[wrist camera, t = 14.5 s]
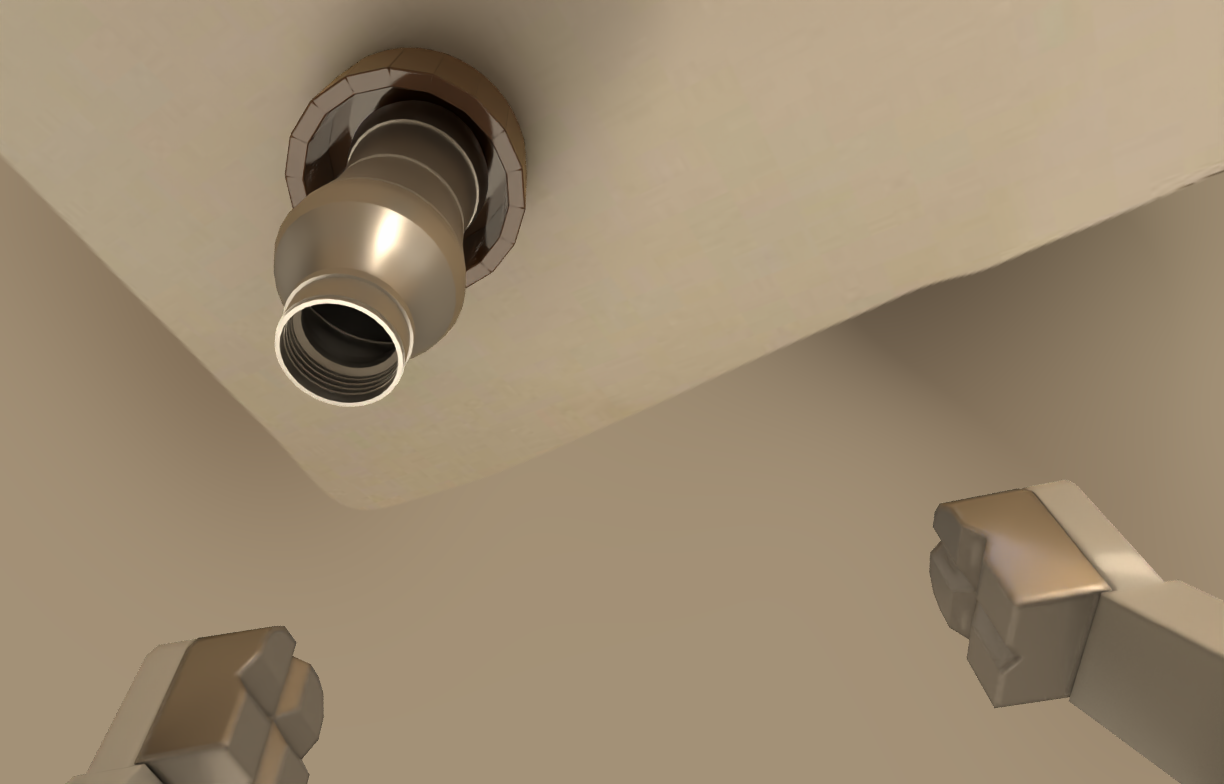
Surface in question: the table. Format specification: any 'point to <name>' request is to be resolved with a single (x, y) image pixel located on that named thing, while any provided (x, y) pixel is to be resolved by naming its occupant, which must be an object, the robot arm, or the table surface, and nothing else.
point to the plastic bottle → (378, 254)
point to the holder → (431, 79)
